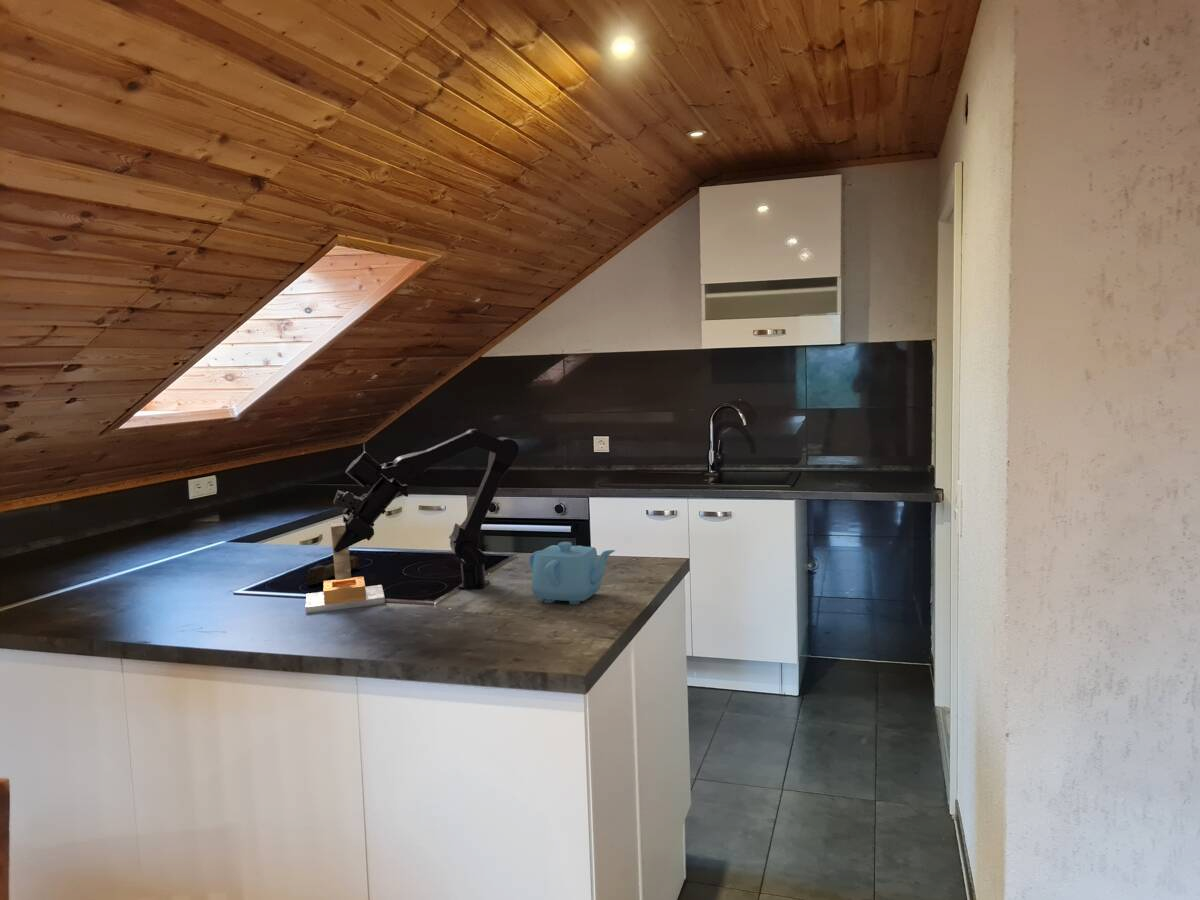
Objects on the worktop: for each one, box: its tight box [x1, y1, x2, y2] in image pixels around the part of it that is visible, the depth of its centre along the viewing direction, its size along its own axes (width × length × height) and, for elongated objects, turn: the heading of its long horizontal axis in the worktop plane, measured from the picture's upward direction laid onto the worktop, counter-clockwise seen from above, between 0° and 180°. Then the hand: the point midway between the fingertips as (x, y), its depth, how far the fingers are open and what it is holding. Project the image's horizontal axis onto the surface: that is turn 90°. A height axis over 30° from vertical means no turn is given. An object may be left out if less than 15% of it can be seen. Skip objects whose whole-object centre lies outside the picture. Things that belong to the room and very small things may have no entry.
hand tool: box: [306, 555, 360, 587], centre depth 236 cm, size 19×4×5 cm, turn 155°
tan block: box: [330, 522, 352, 580], centre depth 209 cm, size 4×4×13 cm
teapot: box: [528, 541, 616, 606], centre depth 206 cm, size 18×16×14 cm
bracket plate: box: [305, 576, 386, 614], centre depth 211 cm, size 18×12×4 cm, turn 107°
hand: (334, 549), depth 208 cm, fingers closed on tan block, 3 cm apart
